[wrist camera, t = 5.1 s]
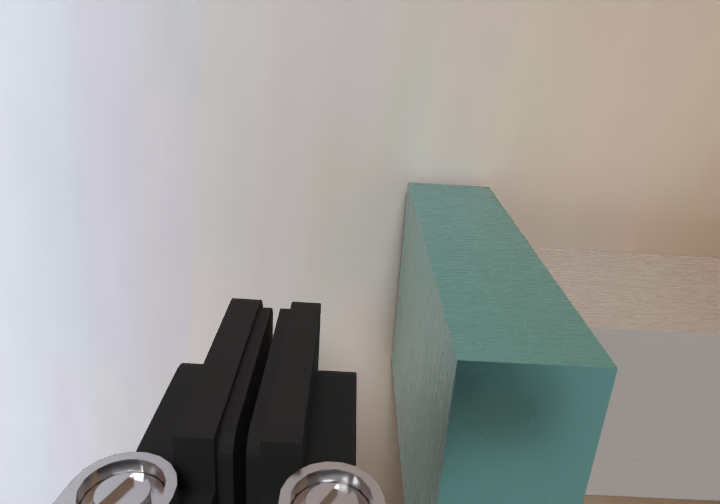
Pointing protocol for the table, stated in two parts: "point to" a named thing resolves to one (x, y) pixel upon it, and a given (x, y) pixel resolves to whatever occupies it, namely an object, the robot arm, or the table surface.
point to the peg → (549, 363)
